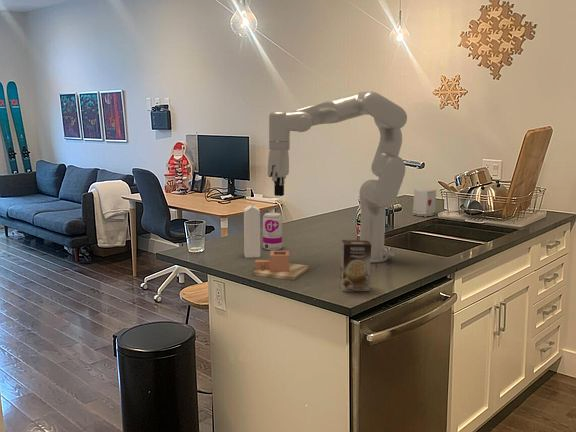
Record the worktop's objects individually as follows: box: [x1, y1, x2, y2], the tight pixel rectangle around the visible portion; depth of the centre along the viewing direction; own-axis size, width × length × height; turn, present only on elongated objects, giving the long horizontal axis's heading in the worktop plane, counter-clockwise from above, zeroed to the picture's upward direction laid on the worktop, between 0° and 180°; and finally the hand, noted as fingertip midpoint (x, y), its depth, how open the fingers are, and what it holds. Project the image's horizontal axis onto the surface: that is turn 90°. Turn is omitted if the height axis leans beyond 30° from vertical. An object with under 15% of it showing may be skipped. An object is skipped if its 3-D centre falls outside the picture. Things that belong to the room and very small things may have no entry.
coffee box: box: [339, 239, 372, 292], centre depth 190 cm, size 9×6×16 cm
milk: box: [243, 200, 261, 259], centre depth 232 cm, size 6×6×22 cm
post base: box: [252, 262, 310, 281], centre depth 211 cm, size 16×16×5 cm
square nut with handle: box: [254, 250, 290, 272], centre depth 210 cm, size 12×7×6 cm, turn 90°
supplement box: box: [412, 187, 437, 214], centre depth 320 cm, size 9×9×15 cm
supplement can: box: [262, 212, 283, 251], centre depth 244 cm, size 8×8×15 cm
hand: (279, 195), depth 214 cm, fingers closed
